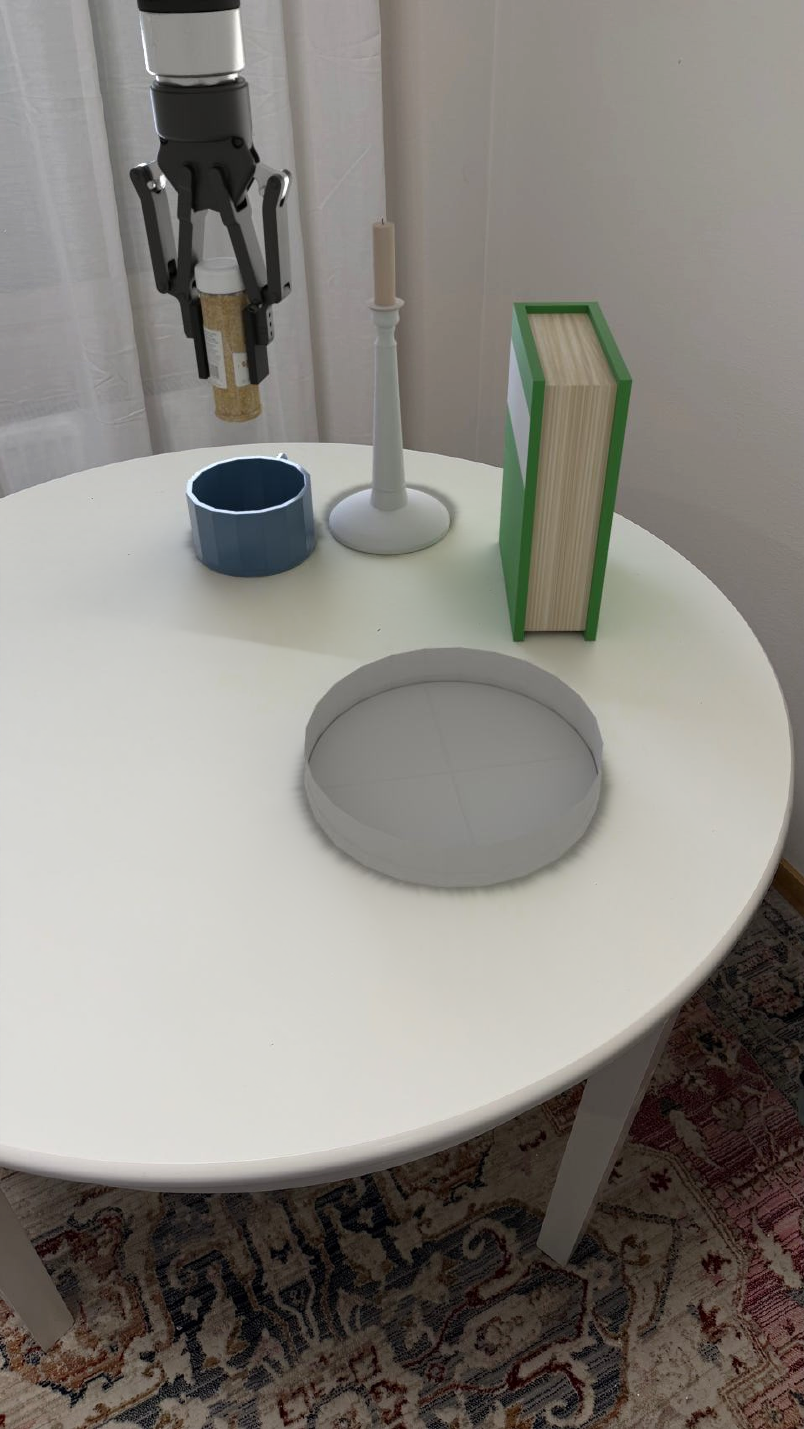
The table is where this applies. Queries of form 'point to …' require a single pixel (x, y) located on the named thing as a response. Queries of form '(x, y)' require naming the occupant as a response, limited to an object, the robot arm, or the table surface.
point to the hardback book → (560, 464)
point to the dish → (453, 766)
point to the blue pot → (251, 515)
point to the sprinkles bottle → (227, 339)
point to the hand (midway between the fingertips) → (234, 375)
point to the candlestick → (387, 440)
